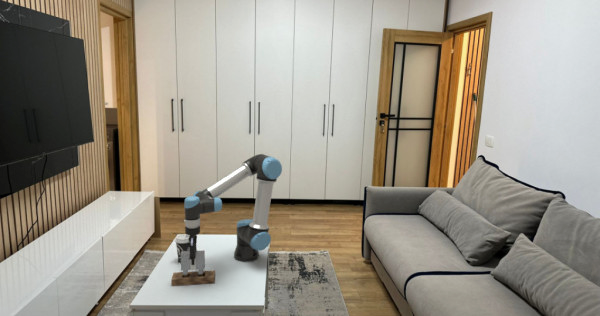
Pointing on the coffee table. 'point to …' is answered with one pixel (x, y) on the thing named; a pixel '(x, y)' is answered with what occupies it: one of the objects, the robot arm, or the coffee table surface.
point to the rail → (193, 278)
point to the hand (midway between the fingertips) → (193, 267)
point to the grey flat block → (186, 261)
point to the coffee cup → (182, 245)
